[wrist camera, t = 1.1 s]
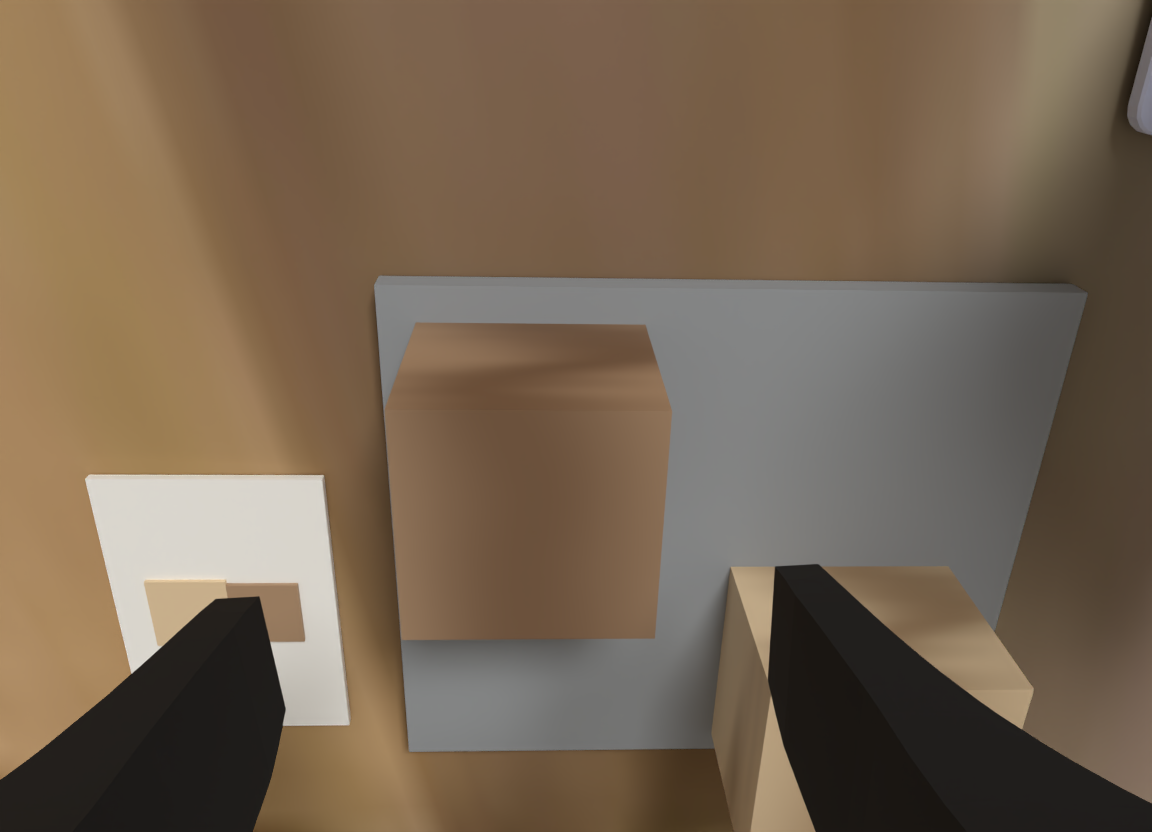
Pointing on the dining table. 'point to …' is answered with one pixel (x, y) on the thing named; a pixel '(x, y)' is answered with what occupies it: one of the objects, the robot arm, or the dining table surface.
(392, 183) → the dining table surface
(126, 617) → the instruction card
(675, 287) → the mat
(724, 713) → the oak block
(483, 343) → the walnut block
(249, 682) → the robot arm
